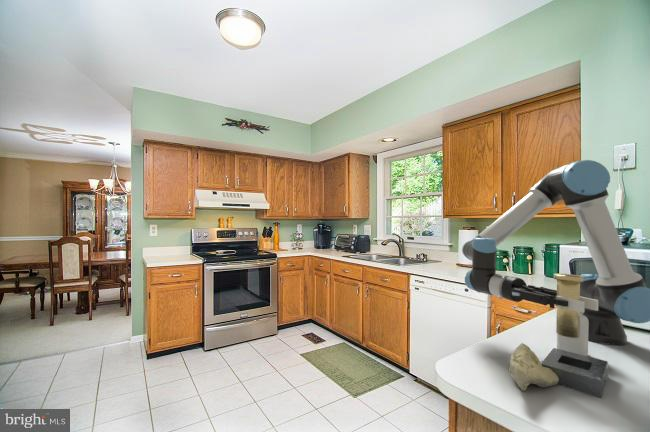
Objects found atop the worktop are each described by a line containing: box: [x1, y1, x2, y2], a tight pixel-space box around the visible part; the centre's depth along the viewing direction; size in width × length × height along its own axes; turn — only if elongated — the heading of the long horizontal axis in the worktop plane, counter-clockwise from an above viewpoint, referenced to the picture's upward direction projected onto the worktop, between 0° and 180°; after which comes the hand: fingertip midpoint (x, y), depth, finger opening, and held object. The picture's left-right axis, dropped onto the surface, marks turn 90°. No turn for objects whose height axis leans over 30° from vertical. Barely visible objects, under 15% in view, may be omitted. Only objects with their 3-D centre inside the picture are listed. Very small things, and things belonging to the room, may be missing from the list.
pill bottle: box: [556, 312, 589, 356], centre depth 101 cm, size 8×8×15 cm
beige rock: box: [508, 342, 559, 391], centre depth 79 cm, size 15×7×15 cm
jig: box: [540, 347, 609, 399], centre depth 84 cm, size 16×12×4 cm
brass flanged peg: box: [553, 273, 583, 338], centre depth 86 cm, size 6×6×16 cm
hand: (590, 306), depth 81 cm, fingers closed on brass flanged peg, 5 cm apart
